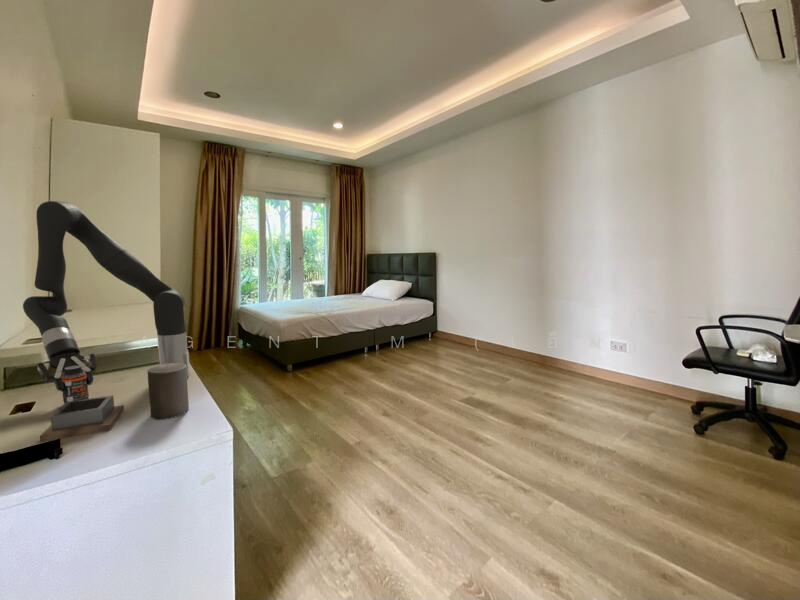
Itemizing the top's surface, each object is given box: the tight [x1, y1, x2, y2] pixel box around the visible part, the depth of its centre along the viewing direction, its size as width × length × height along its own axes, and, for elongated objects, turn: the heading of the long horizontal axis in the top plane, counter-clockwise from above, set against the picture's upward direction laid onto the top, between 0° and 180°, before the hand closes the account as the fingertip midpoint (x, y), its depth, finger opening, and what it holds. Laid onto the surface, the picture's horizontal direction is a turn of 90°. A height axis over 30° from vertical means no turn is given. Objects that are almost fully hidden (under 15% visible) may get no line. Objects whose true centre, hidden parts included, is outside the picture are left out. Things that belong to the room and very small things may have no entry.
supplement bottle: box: [60, 366, 90, 405], centre depth 112 cm, size 6×6×11 cm
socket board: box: [39, 405, 125, 442], centre depth 98 cm, size 14×14×2 cm
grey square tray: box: [50, 395, 115, 431], centre depth 98 cm, size 10×10×4 cm
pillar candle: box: [147, 363, 190, 420], centre depth 105 cm, size 10×10×15 cm
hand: (76, 386), depth 111 cm, fingers closed on supplement bottle, 6 cm apart
